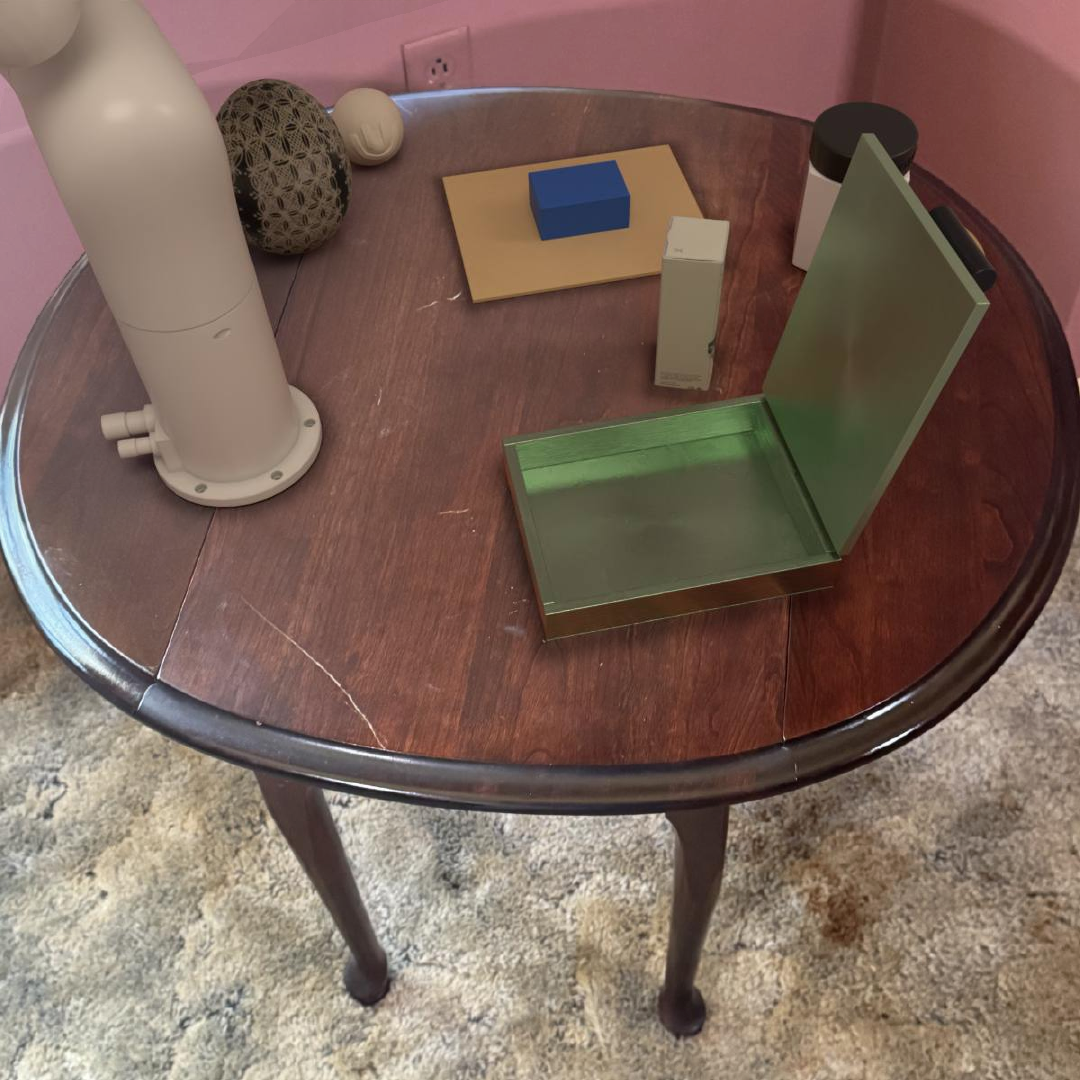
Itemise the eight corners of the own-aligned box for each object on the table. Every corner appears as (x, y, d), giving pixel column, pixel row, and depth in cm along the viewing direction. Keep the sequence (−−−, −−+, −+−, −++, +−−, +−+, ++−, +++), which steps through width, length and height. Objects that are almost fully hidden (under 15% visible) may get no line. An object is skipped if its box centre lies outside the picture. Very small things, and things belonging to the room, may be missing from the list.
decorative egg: (273, 192, 105) (234, 38, 93) (385, 217, 102) (359, 61, 90) (207, 267, 98) (156, 112, 86) (324, 296, 95) (288, 139, 83)
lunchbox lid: (977, 303, 56) (1059, 302, 57) (861, 132, 65) (934, 133, 66) (838, 556, 71) (904, 550, 72) (760, 388, 81) (821, 385, 82)
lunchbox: (547, 647, 73) (545, 615, 70) (504, 472, 82) (501, 437, 79) (831, 593, 75) (842, 559, 72) (758, 428, 84) (765, 392, 81)
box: (707, 398, 86) (724, 265, 76) (651, 391, 87) (660, 258, 77) (715, 352, 89) (732, 218, 79) (660, 346, 90) (670, 212, 80)
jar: (886, 291, 93) (921, 166, 84) (788, 282, 94) (811, 157, 85) (886, 226, 99) (919, 101, 89) (793, 218, 100) (815, 94, 90)
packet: (541, 241, 98) (540, 208, 95) (529, 204, 101) (528, 172, 99) (629, 228, 99) (630, 195, 96) (614, 191, 102) (615, 159, 100)
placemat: (473, 303, 94) (472, 300, 94) (442, 180, 105) (442, 177, 104) (723, 264, 96) (724, 260, 96) (668, 147, 107) (668, 144, 107)
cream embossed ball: (351, 189, 104) (338, 125, 99) (329, 148, 109) (316, 85, 103) (418, 171, 106) (410, 106, 101) (394, 131, 110) (385, 68, 105)
